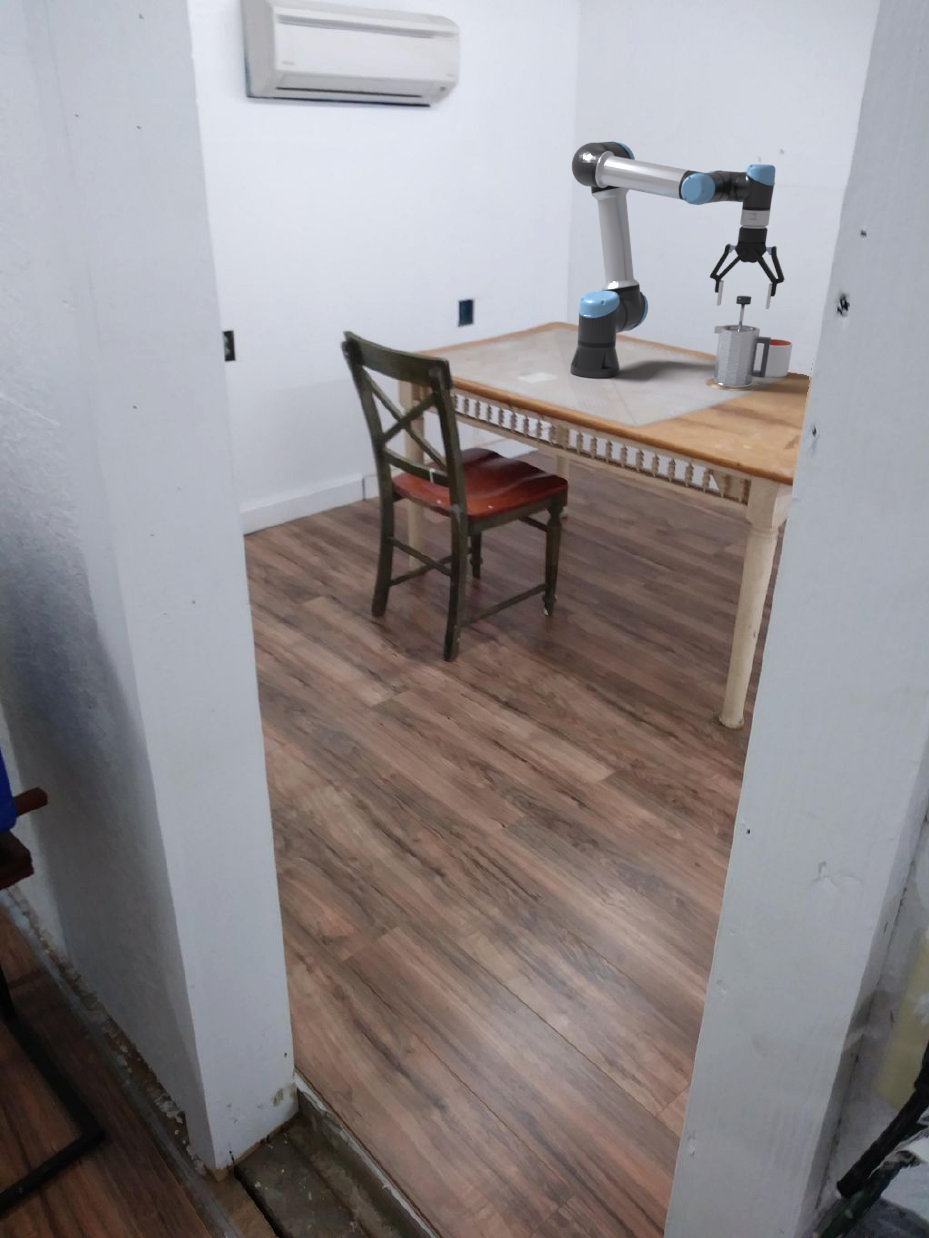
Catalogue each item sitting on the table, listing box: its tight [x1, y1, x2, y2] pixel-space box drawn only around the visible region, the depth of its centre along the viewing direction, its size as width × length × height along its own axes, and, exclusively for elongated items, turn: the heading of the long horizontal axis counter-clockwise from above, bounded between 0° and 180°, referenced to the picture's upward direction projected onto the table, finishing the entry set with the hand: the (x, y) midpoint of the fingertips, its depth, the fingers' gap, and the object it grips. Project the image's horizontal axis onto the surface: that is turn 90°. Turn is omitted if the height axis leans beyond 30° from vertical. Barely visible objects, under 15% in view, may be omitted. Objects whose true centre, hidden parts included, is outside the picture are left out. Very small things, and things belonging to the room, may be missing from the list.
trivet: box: [704, 377, 761, 392], centre depth 284 cm, size 16×16×1 cm
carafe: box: [712, 324, 772, 389], centre depth 280 cm, size 16×11×16 cm
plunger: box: [730, 295, 752, 332], centre depth 275 cm, size 8×8×11 cm
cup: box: [754, 338, 793, 378], centre depth 294 cm, size 10×10×10 cm
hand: (742, 306), depth 273 cm, fingers open, 13 cm apart
